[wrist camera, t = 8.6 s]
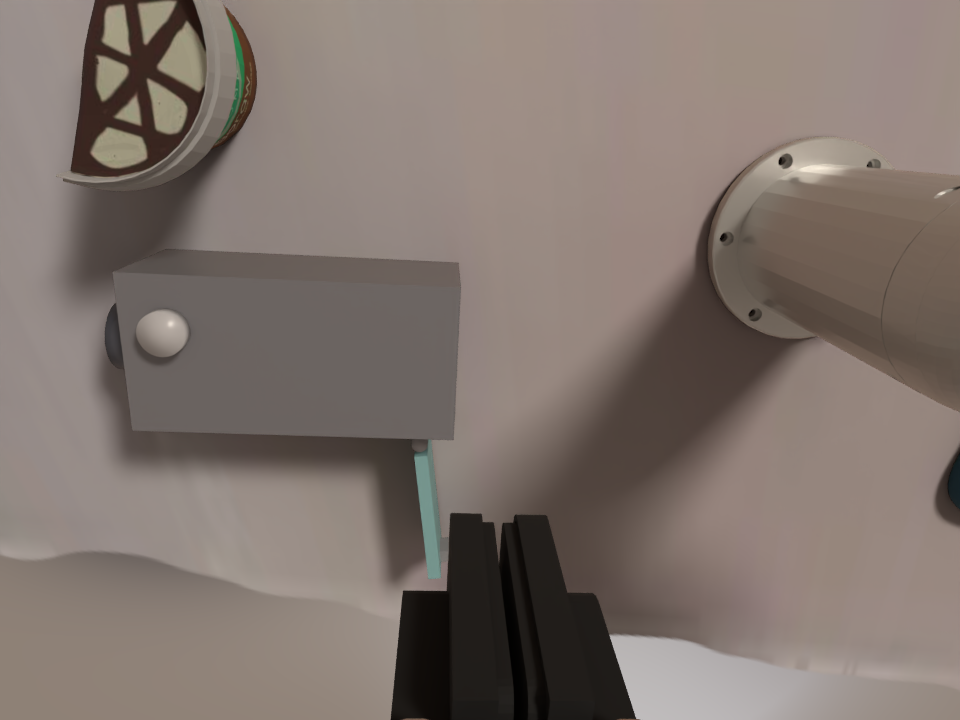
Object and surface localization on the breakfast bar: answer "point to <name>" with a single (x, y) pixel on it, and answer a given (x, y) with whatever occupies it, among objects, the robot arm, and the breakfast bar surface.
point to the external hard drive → (955, 483)
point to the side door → (429, 508)
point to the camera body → (287, 344)
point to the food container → (158, 91)
